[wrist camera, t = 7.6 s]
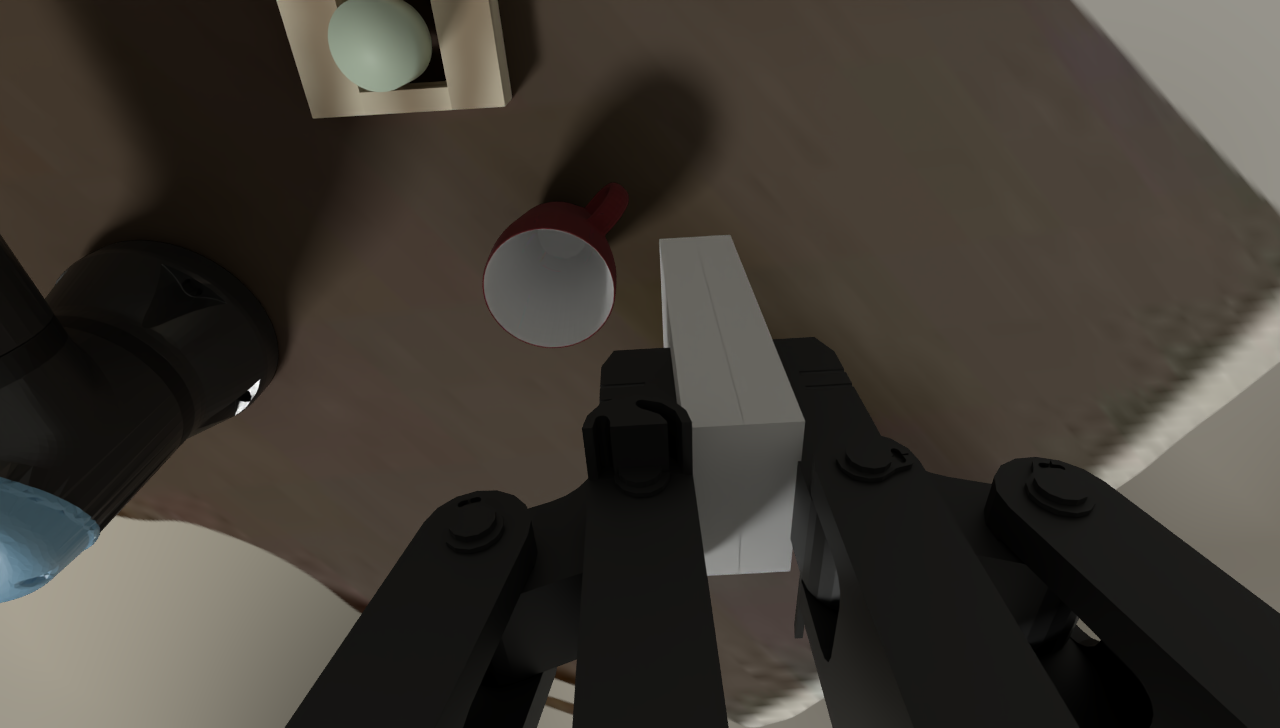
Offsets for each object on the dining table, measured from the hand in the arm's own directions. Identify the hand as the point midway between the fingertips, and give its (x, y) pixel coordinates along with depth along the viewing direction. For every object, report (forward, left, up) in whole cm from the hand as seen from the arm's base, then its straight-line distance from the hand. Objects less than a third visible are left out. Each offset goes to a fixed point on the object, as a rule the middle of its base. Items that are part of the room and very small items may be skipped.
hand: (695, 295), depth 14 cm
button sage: (-15, +3, -29) cm, 33 cm away
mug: (-6, -9, -33) cm, 34 cm away
